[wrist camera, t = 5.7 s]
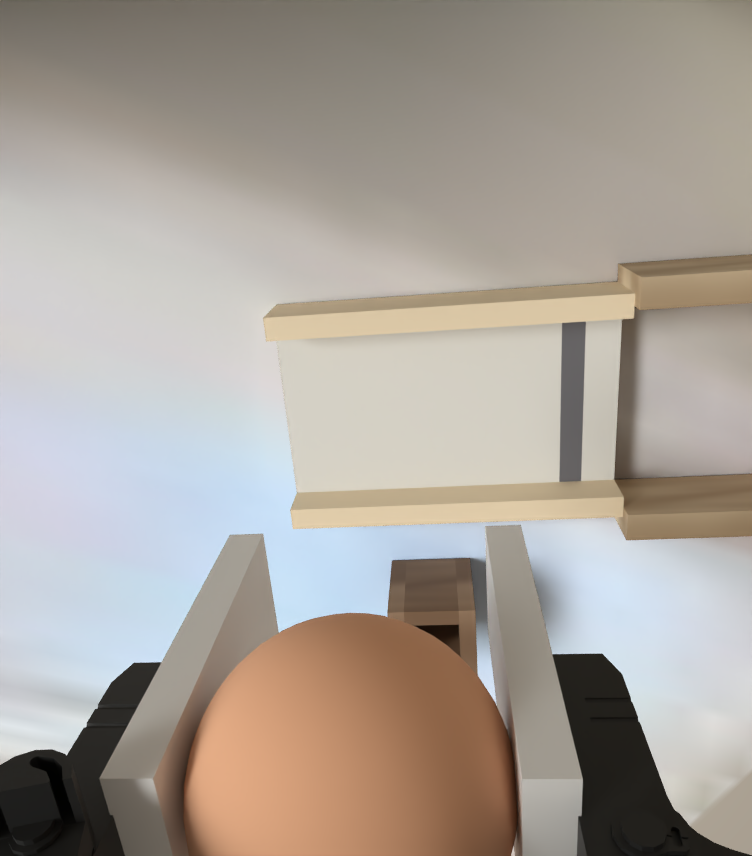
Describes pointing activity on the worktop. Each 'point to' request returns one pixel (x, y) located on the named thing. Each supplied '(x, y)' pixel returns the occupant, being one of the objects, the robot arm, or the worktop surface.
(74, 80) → the worktop surface
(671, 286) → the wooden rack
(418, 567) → the wooden square sleeve
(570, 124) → the worktop surface
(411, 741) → the ball
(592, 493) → the runway
